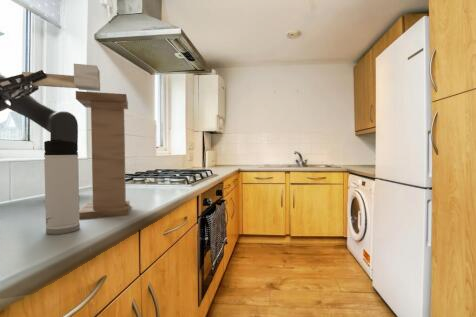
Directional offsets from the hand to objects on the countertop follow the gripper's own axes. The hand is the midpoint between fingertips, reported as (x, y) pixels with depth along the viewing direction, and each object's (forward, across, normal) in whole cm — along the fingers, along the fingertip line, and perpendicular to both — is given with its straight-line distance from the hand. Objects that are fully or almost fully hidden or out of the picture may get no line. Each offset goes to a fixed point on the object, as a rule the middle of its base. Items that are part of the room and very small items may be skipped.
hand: (46, 75), depth 79 cm
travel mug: (-13, -25, +39) cm, 48 cm away
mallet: (+2, 0, +5) cm, 5 cm away
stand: (-6, -7, +42) cm, 43 cm away
